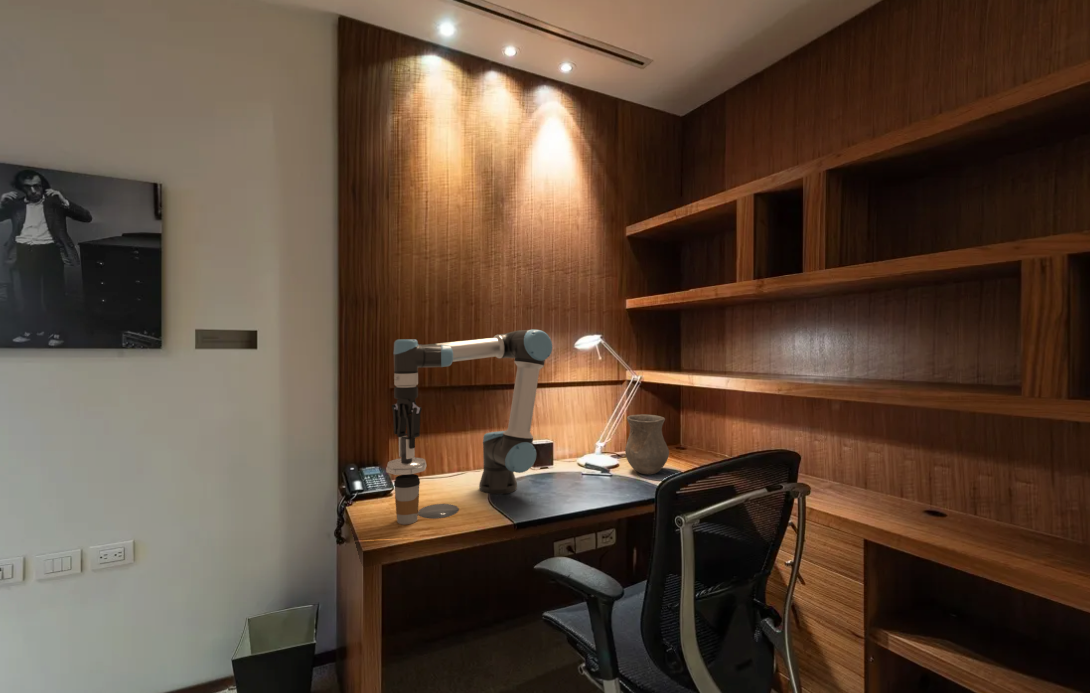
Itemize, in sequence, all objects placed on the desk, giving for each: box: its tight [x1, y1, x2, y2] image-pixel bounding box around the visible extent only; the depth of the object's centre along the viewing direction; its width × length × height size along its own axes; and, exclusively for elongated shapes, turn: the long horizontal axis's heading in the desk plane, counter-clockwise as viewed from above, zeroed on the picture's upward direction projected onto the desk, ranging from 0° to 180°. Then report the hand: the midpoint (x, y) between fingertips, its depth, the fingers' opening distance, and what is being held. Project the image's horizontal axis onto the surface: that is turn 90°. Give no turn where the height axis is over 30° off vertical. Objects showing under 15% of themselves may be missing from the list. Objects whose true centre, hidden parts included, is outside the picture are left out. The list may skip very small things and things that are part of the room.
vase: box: [624, 414, 670, 475], centre depth 208 cm, size 20×19×25 cm
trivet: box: [418, 503, 460, 520], centre depth 161 cm, size 14×14×1 cm
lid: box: [385, 436, 427, 476], centre depth 152 cm, size 12×12×10 cm
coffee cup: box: [393, 473, 421, 525], centre depth 153 cm, size 8×8×15 cm
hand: (406, 457), depth 152 cm, fingers closed on lid, 3 cm apart
